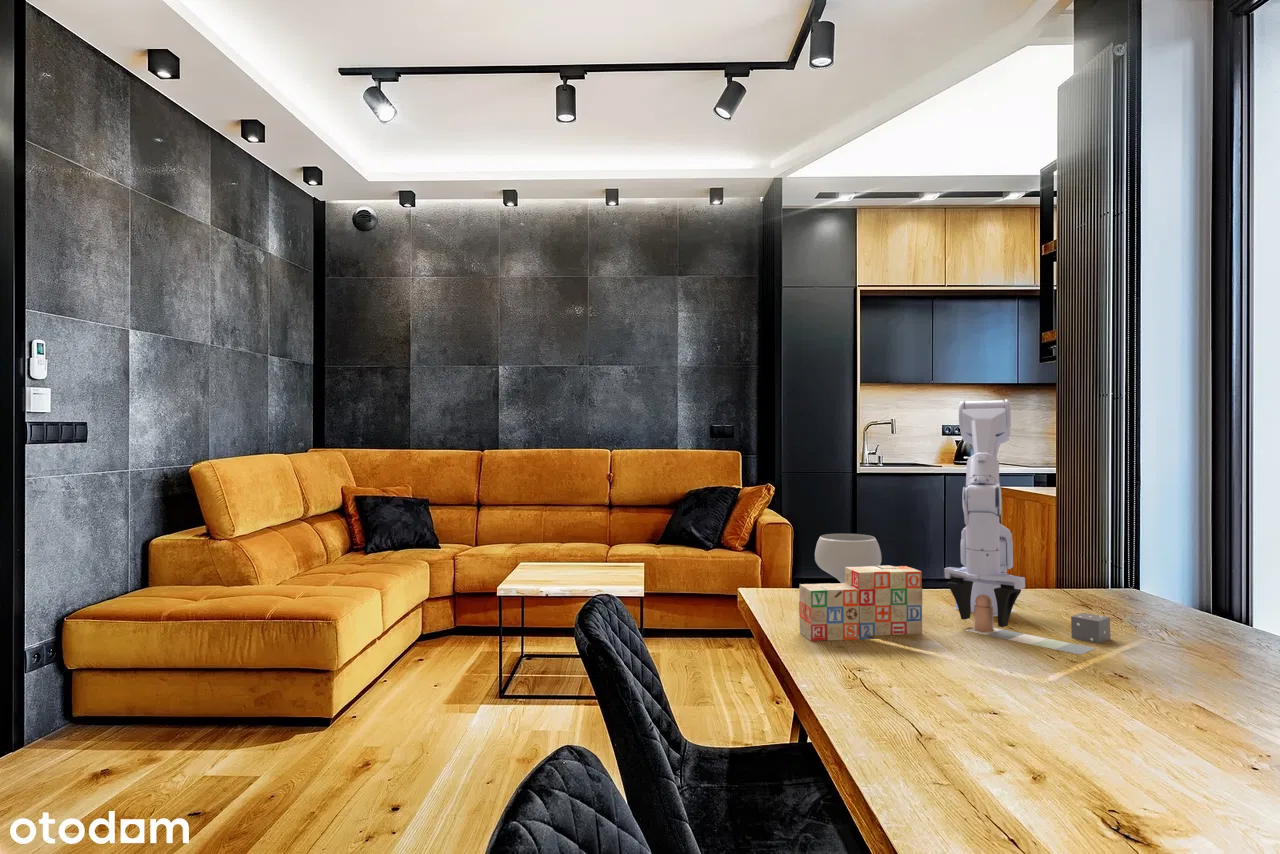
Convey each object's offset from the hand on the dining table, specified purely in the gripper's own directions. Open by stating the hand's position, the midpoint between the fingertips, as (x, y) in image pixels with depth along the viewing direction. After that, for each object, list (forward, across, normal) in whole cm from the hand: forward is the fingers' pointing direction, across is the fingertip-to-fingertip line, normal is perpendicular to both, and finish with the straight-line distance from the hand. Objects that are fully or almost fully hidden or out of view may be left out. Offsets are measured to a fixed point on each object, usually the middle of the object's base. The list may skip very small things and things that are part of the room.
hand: (984, 622), depth 140 cm
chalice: (+2, -30, -1) cm, 30 cm away
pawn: (+1, 0, 0) cm, 1 cm away
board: (+2, +8, 0) cm, 8 cm away
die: (+2, +15, +9) cm, 17 cm away
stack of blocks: (+2, -14, -18) cm, 23 cm away
